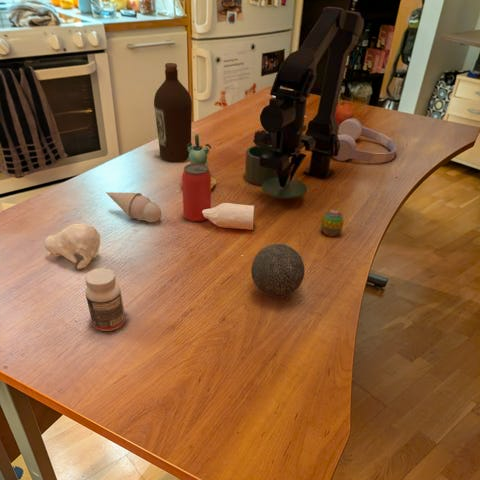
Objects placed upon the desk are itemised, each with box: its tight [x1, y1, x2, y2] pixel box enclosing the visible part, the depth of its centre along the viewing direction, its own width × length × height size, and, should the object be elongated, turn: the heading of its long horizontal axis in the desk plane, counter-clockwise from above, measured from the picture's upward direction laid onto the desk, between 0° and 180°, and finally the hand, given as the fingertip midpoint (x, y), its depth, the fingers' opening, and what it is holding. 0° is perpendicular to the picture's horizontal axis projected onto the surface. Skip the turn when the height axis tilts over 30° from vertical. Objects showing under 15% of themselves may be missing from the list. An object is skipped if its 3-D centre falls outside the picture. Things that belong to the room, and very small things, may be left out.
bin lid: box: [261, 174, 307, 199], centre depth 117 cm, size 11×11×5 cm
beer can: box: [181, 163, 212, 222], centre depth 108 cm, size 7×7×12 cm
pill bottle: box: [84, 267, 126, 332], centre depth 78 cm, size 6×6×10 cm
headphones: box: [332, 117, 398, 163], centre depth 147 cm, size 22×7×20 cm
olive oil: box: [153, 62, 193, 163], centre depth 132 cm, size 11×11×25 cm
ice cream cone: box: [105, 192, 162, 223], centre depth 108 cm, size 6×6×15 cm
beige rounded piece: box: [44, 222, 101, 270], centre depth 93 cm, size 6×8×12 cm
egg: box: [321, 208, 344, 237], centre depth 106 cm, size 5×5×6 cm
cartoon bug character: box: [180, 133, 217, 189], centre depth 120 cm, size 10×18×15 cm, turn 171°
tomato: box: [335, 101, 354, 129], centre depth 165 cm, size 9×9×8 cm
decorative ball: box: [250, 243, 305, 298], centre depth 87 cm, size 10×10×10 cm
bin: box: [244, 145, 279, 187], centre depth 128 cm, size 10×10×8 cm
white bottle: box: [202, 202, 255, 231], centre depth 107 cm, size 6×12×6 cm, turn 85°
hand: (284, 184), depth 117 cm, fingers closed on bin lid, 2 cm apart
